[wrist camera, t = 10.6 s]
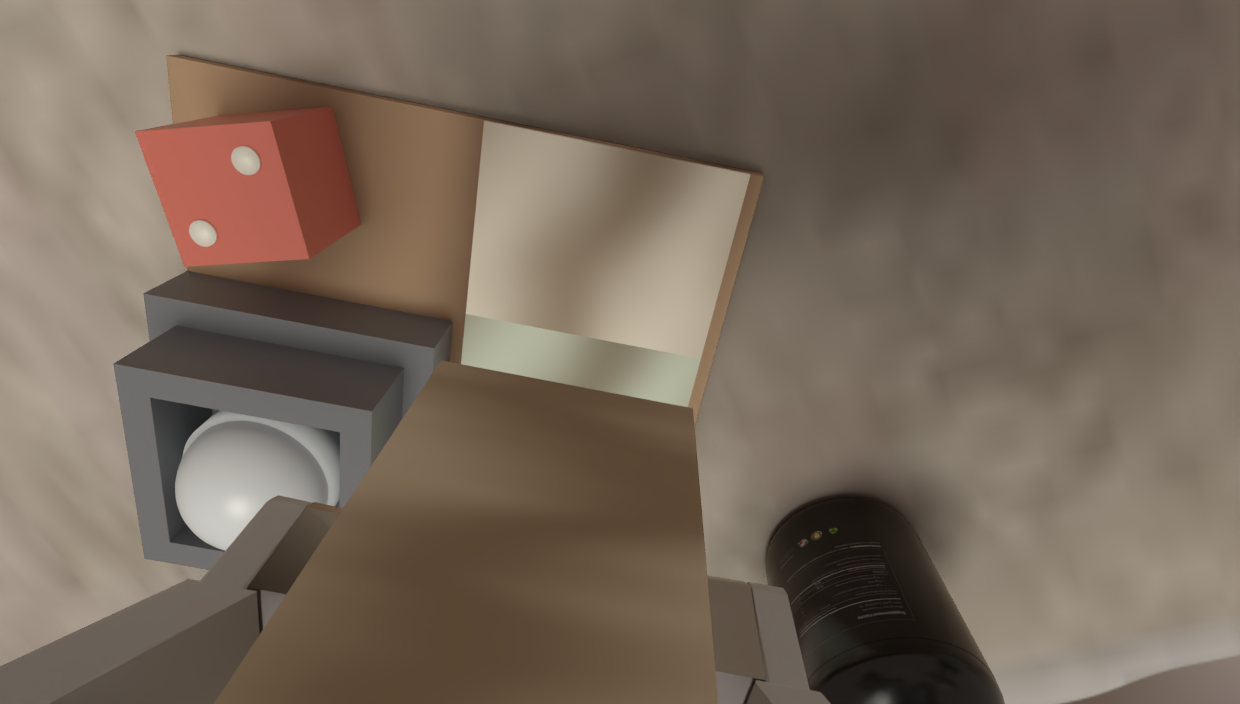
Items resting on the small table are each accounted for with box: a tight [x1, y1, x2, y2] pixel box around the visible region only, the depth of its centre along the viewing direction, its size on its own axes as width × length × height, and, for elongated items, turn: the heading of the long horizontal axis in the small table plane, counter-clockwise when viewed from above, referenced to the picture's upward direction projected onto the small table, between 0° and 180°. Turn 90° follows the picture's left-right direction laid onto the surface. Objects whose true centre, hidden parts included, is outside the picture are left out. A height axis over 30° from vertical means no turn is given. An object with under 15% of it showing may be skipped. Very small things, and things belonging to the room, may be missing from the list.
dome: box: [175, 410, 340, 551], centre depth 23 cm, size 5×5×5 cm
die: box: [135, 107, 361, 267], centre depth 21 cm, size 4×4×4 cm
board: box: [166, 55, 764, 427], centre depth 27 cm, size 20×21×1 cm
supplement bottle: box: [766, 498, 1005, 704], centre depth 25 cm, size 7×7×12 cm
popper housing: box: [114, 271, 453, 570], centre depth 25 cm, size 10×10×6 cm
